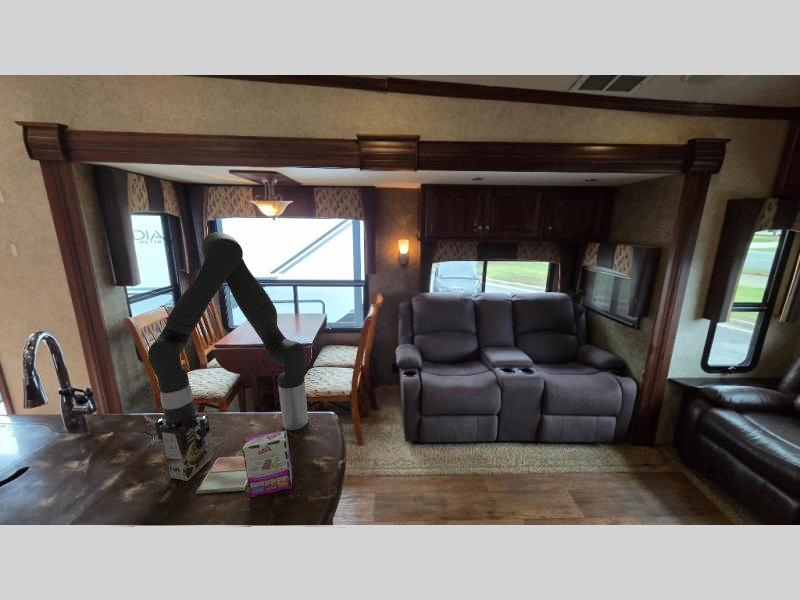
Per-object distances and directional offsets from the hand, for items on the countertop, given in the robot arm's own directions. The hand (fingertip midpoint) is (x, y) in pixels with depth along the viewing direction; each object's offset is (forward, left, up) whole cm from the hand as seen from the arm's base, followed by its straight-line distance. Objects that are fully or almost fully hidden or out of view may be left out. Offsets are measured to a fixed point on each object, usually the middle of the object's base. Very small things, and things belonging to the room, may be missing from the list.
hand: (187, 448), depth 96 cm
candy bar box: (+9, +27, -8) cm, 30 cm away
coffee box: (0, 0, -8) cm, 8 cm away
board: (+3, +13, -7) cm, 15 cm away
